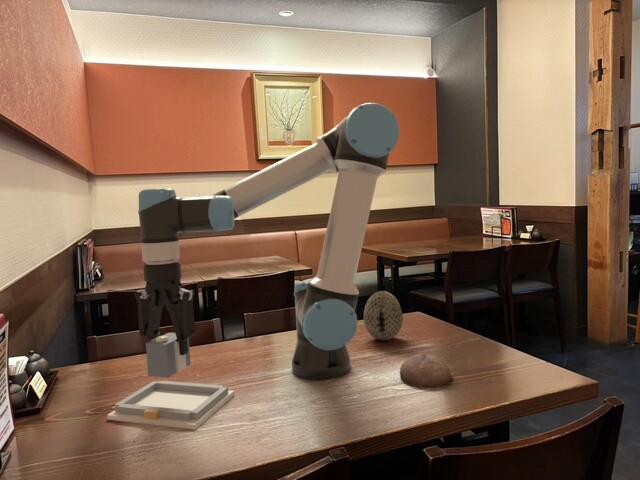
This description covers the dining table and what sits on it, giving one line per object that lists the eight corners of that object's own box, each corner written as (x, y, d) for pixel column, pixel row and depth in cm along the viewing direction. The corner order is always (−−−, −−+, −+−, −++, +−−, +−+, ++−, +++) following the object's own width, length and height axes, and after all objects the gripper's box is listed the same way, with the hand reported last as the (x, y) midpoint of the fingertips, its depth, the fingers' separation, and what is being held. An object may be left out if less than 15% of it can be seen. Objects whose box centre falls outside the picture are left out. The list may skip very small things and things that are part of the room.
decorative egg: (404, 334, 142) (402, 287, 141) (402, 346, 131) (400, 295, 130) (367, 333, 145) (365, 287, 144) (362, 345, 134) (359, 295, 132)
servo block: (190, 364, 101) (188, 329, 101) (168, 377, 94) (166, 340, 93) (171, 362, 103) (168, 329, 102) (148, 375, 95) (145, 339, 95)
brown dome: (447, 369, 113) (447, 347, 112) (454, 389, 101) (453, 365, 100) (399, 369, 114) (399, 347, 114) (400, 388, 103) (399, 364, 102)
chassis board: (234, 394, 103) (233, 384, 103) (195, 429, 88) (194, 417, 88) (156, 388, 110) (155, 378, 109) (107, 419, 94) (106, 408, 94)
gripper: (208, 259, 97) (215, 364, 99) (138, 259, 103) (146, 359, 104) (188, 264, 90) (196, 377, 92) (114, 264, 95) (123, 371, 97)
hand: (169, 367), depth 98 cm, fingers closed on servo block, 5 cm apart
